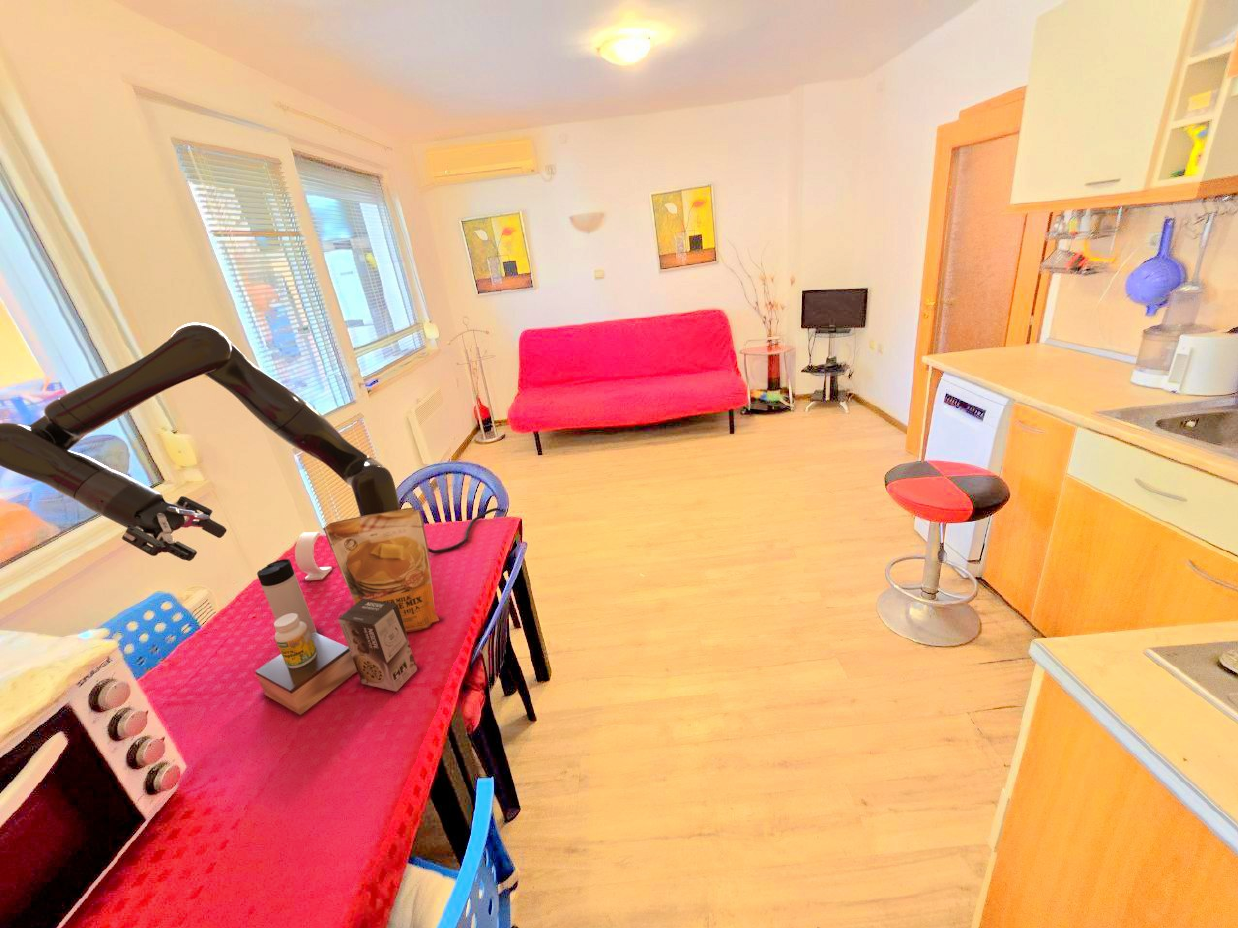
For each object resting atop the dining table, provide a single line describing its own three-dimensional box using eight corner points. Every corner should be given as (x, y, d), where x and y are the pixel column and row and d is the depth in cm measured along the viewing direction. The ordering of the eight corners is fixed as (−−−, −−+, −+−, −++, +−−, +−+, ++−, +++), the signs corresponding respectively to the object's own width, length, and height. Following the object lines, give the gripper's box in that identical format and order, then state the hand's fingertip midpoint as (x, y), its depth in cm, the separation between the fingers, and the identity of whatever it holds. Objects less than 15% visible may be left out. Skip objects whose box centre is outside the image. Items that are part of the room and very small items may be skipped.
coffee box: (418, 668, 102) (399, 603, 96) (396, 693, 96) (374, 625, 91) (383, 660, 105) (362, 596, 99) (359, 683, 100) (336, 617, 94)
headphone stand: (332, 569, 142) (319, 531, 137) (319, 581, 136) (306, 543, 132) (316, 569, 142) (303, 532, 137) (303, 582, 136) (289, 544, 132)
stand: (322, 654, 109) (314, 631, 106) (358, 670, 103) (349, 647, 101) (265, 694, 99) (254, 670, 97) (300, 715, 93) (290, 690, 91)
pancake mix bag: (362, 624, 117) (326, 517, 107) (447, 608, 120) (420, 503, 110) (354, 644, 111) (316, 532, 101) (443, 626, 114) (415, 516, 104)
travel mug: (304, 650, 110) (274, 573, 103) (279, 648, 112) (247, 572, 104) (325, 631, 116) (297, 557, 108) (301, 629, 117) (272, 555, 110)
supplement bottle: (321, 646, 102) (306, 607, 98) (312, 665, 97) (296, 625, 93) (292, 652, 101) (276, 613, 97) (281, 672, 96) (264, 631, 92)
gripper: (94, 500, 84) (192, 550, 89) (159, 468, 97) (241, 514, 102) (76, 531, 86) (173, 579, 91) (142, 496, 99) (224, 540, 104)
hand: (209, 544), depth 96 cm, fingers open, 8 cm apart
